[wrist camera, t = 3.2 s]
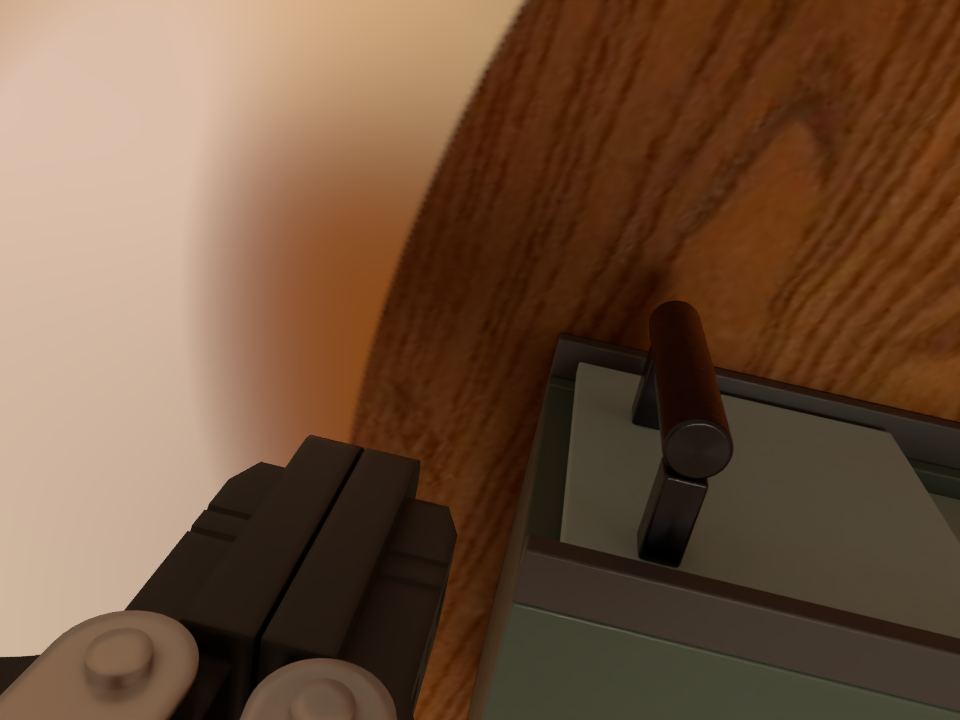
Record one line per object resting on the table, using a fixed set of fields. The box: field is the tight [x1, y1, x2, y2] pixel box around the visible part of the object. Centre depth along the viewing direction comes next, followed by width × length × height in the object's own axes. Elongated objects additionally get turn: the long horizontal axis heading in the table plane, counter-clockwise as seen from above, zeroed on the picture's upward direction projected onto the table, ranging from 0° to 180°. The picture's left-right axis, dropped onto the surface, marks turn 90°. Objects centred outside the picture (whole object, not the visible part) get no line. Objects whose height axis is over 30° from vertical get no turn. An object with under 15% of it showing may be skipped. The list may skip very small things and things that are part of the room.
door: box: [560, 301, 960, 638], centre depth 18 cm, size 4×9×8 cm, turn 80°
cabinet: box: [467, 333, 960, 720], centre depth 21 cm, size 13×18×10 cm
